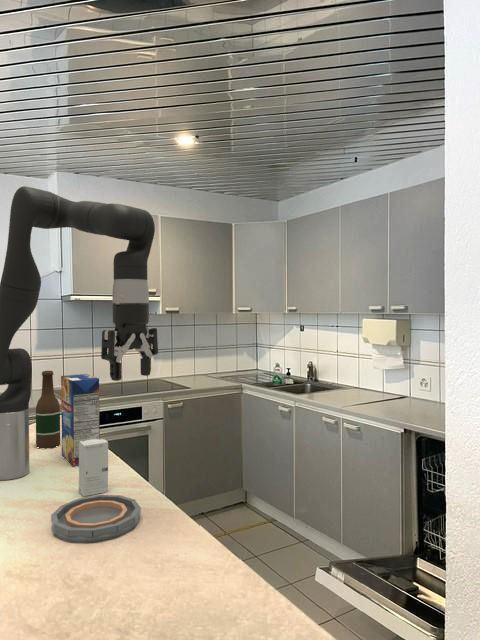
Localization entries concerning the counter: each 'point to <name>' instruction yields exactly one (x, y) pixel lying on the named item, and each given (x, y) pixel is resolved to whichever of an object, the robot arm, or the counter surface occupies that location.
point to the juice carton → (78, 413)
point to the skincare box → (93, 466)
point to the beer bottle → (47, 415)
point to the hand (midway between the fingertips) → (131, 377)
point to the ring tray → (95, 518)
